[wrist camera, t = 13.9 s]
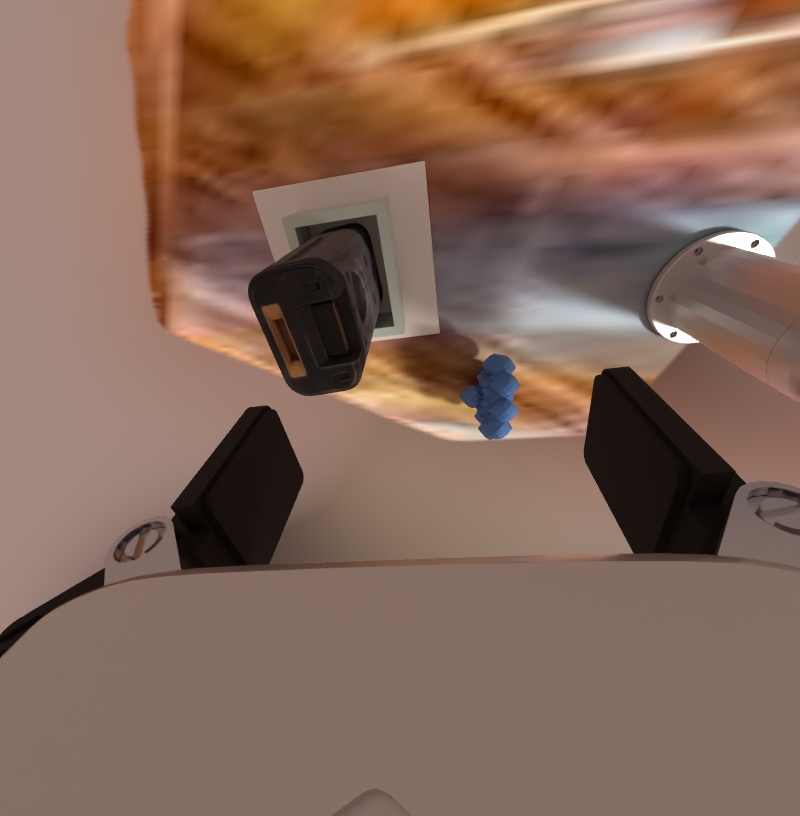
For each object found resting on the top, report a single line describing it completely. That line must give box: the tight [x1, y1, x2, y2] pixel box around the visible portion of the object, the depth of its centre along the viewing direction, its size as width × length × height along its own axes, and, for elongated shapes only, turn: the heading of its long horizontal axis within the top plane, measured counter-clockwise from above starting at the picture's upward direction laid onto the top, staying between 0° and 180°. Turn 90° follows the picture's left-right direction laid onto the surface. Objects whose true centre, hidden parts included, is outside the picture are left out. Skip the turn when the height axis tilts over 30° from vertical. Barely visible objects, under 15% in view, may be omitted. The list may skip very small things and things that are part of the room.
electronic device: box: [248, 223, 383, 396], centre depth 32 cm, size 9×6×20 cm, turn 12°
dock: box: [252, 161, 440, 342], centre depth 39 cm, size 18×18×6 cm
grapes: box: [460, 354, 520, 440], centre depth 44 cm, size 12×7×12 cm, turn 179°
